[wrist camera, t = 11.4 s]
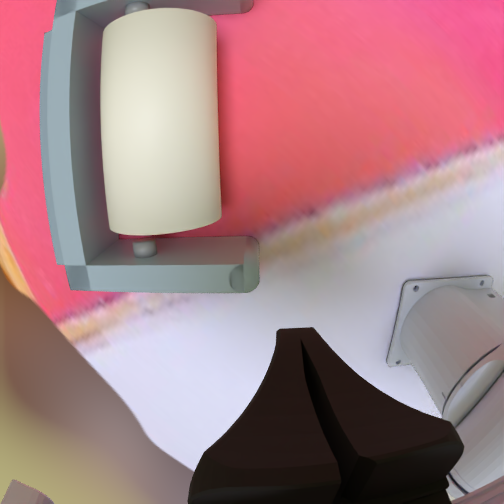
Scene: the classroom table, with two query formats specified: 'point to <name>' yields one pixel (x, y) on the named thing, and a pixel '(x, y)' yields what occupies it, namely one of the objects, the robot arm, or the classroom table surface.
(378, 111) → the classroom table surface
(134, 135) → the cylinder
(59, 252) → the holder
